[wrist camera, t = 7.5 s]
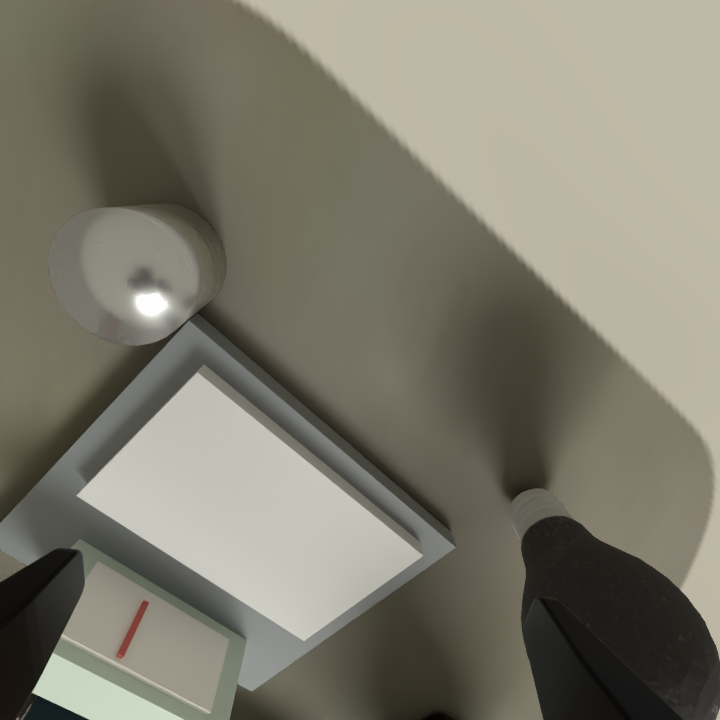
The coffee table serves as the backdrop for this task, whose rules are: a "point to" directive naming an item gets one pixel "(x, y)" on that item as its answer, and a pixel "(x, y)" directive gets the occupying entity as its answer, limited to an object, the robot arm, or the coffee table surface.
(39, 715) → the watch
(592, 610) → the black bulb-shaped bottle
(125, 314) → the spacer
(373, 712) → the coffee table surface
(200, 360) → the scale
